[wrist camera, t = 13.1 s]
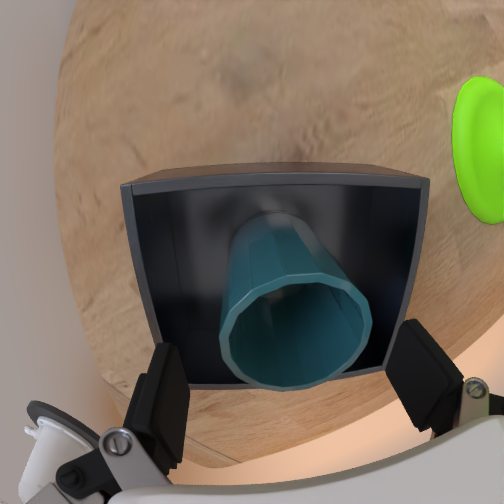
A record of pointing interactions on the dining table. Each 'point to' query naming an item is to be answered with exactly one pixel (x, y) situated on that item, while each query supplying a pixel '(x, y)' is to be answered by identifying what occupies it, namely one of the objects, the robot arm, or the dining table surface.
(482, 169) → the wineglass
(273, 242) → the tumbler
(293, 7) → the dining table surface
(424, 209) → the grey open box
